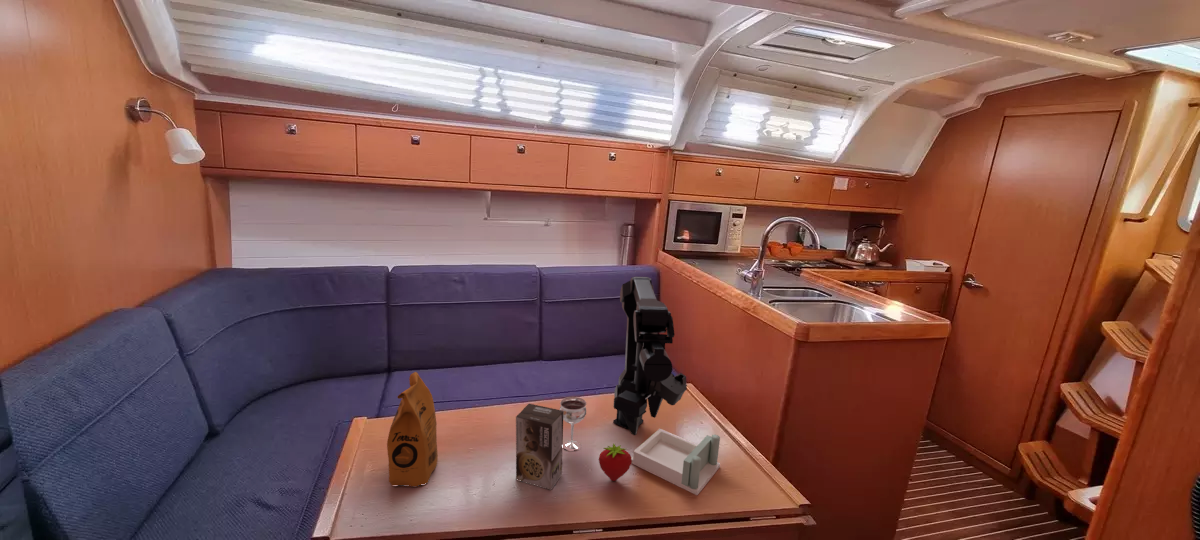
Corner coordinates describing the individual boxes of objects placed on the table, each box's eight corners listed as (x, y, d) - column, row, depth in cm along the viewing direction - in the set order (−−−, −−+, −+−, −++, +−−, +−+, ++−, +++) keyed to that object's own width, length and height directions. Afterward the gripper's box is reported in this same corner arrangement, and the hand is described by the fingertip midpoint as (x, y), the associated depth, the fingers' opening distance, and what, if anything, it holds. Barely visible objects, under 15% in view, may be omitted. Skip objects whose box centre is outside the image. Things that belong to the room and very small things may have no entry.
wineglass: (553, 449, 114) (555, 406, 111) (565, 435, 120) (567, 394, 117) (578, 456, 111) (580, 412, 109) (589, 442, 117) (591, 400, 115)
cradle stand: (629, 462, 110) (631, 432, 108) (655, 438, 120) (657, 411, 119) (697, 495, 100) (700, 463, 98) (719, 466, 110) (723, 437, 108)
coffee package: (381, 490, 96) (375, 396, 92) (401, 454, 109) (396, 370, 104) (428, 489, 97) (425, 396, 93) (443, 454, 109) (441, 370, 105)
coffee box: (562, 473, 105) (565, 410, 101) (551, 491, 99) (553, 424, 95) (527, 463, 108) (529, 402, 104) (514, 480, 102) (515, 415, 98)
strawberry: (631, 490, 100) (634, 450, 98) (597, 489, 100) (599, 449, 98) (629, 472, 106) (631, 434, 104) (597, 471, 106) (599, 433, 104)
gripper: (662, 387, 87) (656, 459, 90) (699, 357, 102) (693, 420, 105) (614, 371, 93) (610, 439, 96) (655, 345, 108) (651, 405, 111)
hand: (643, 425), depth 102 cm, fingers open, 9 cm apart
